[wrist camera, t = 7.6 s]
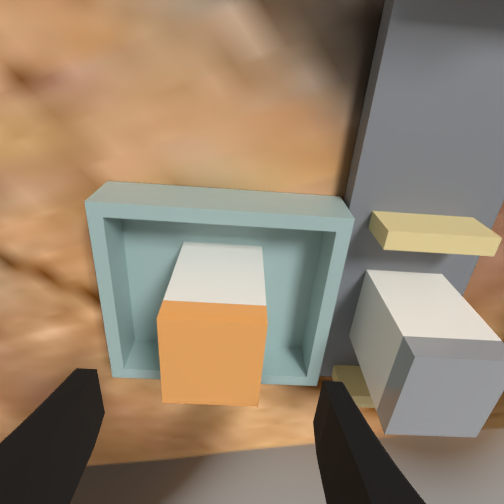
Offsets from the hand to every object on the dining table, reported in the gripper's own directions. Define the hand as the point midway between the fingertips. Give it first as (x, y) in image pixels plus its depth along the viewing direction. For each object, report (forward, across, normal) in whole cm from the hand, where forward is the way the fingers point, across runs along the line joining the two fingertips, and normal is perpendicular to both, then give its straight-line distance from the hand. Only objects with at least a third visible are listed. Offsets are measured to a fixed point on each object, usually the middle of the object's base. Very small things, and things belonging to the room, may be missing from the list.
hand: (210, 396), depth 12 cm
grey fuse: (+6, -8, 0) cm, 10 cm away
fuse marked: (+7, 0, 0) cm, 7 cm away
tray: (+7, 0, 0) cm, 7 cm away
